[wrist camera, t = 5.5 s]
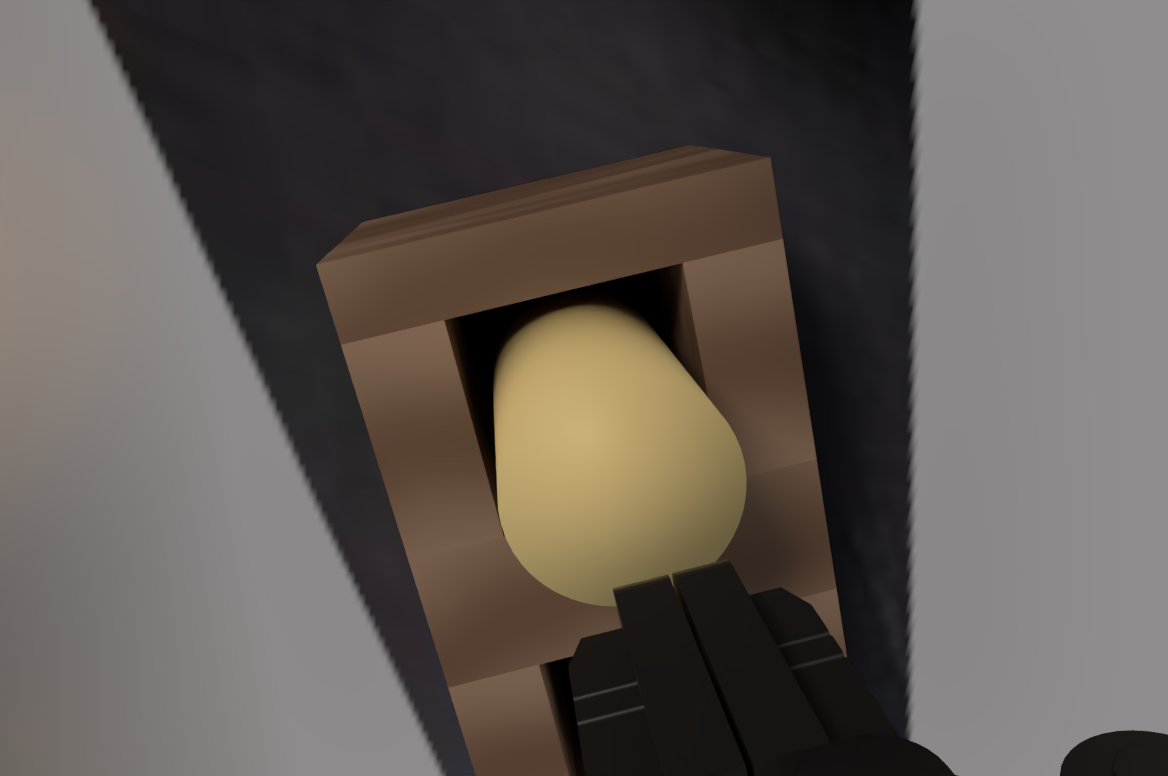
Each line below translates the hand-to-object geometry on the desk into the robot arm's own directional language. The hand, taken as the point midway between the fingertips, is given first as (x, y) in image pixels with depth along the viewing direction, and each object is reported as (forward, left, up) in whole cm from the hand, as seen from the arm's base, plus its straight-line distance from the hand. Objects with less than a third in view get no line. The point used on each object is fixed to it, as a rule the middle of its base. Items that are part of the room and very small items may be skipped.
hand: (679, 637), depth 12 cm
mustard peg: (0, 0, -13) cm, 13 cm away
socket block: (+5, 0, -18) cm, 18 cm away
